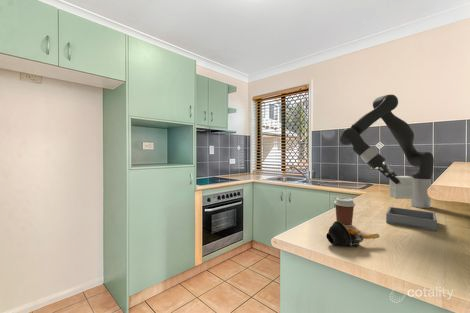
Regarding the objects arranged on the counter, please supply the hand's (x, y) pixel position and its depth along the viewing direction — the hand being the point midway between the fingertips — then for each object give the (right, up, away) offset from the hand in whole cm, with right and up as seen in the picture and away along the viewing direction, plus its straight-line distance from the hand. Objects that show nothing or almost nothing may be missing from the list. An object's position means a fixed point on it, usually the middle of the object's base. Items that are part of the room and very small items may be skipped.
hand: (399, 181), depth 110 cm
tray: (+3, -19, -3) cm, 20 cm away
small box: (+1, -8, 0) cm, 8 cm away
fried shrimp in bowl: (-37, -20, -28) cm, 51 cm away
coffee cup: (-30, -19, -5) cm, 36 cm away
